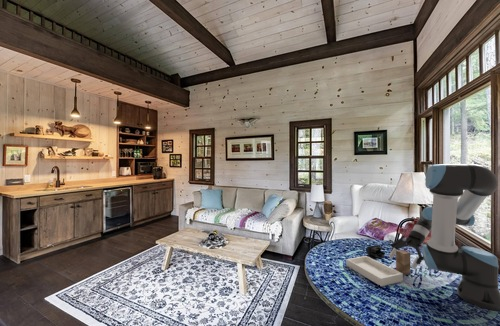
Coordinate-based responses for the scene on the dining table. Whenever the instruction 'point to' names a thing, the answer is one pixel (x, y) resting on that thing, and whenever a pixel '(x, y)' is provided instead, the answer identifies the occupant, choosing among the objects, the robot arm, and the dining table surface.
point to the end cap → (375, 251)
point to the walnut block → (403, 262)
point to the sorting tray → (374, 270)
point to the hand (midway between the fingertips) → (400, 262)
